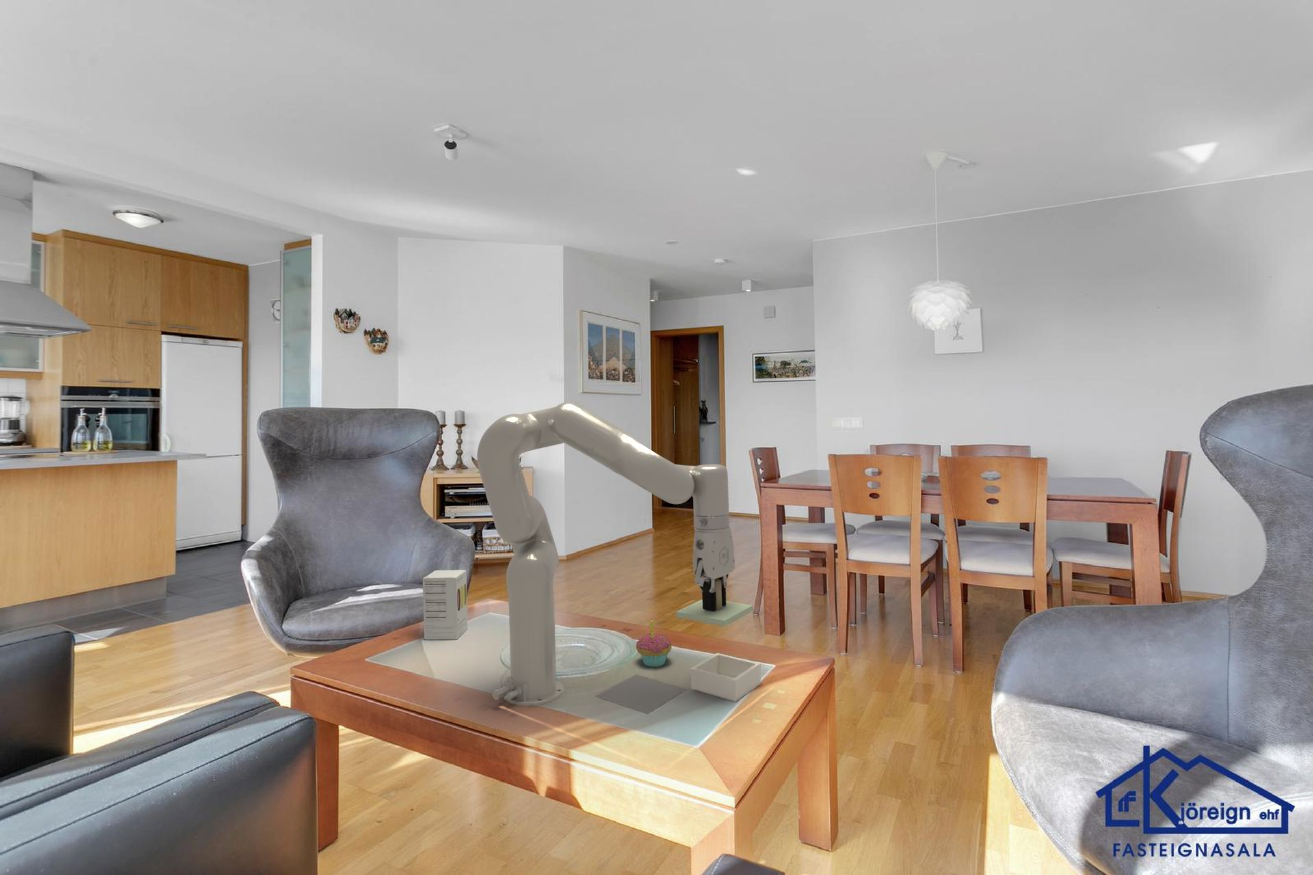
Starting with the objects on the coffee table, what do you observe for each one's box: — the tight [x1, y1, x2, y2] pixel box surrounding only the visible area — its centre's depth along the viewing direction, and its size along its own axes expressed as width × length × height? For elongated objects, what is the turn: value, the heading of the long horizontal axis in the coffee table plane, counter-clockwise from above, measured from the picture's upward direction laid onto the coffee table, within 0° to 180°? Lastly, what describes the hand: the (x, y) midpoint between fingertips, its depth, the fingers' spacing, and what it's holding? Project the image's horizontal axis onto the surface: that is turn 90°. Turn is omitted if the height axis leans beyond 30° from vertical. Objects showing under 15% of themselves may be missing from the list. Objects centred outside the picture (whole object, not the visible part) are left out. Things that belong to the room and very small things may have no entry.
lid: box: [675, 579, 754, 628], centre depth 138 cm, size 12×12×7 cm
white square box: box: [689, 652, 762, 703], centre depth 139 cm, size 11×11×5 cm
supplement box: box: [422, 569, 469, 641], centre depth 177 cm, size 10×9×17 cm
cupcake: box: [635, 617, 673, 667], centre depth 153 cm, size 9×8×12 cm
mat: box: [594, 673, 688, 715], centre depth 137 cm, size 14×14×1 cm
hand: (714, 606), depth 138 cm, fingers closed on lid, 3 cm apart
